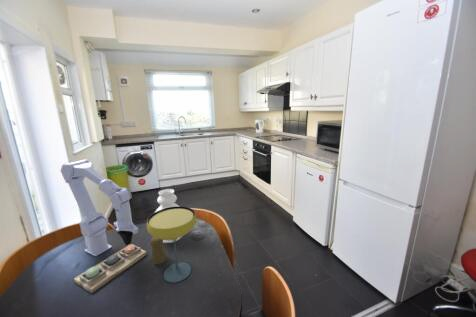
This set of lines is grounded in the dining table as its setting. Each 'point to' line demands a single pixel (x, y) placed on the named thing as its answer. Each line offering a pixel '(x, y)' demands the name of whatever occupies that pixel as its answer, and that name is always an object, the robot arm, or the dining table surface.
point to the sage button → (92, 272)
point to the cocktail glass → (173, 235)
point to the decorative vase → (167, 204)
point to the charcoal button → (112, 260)
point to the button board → (110, 269)
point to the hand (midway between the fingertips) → (128, 243)
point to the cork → (157, 251)
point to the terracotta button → (129, 249)
